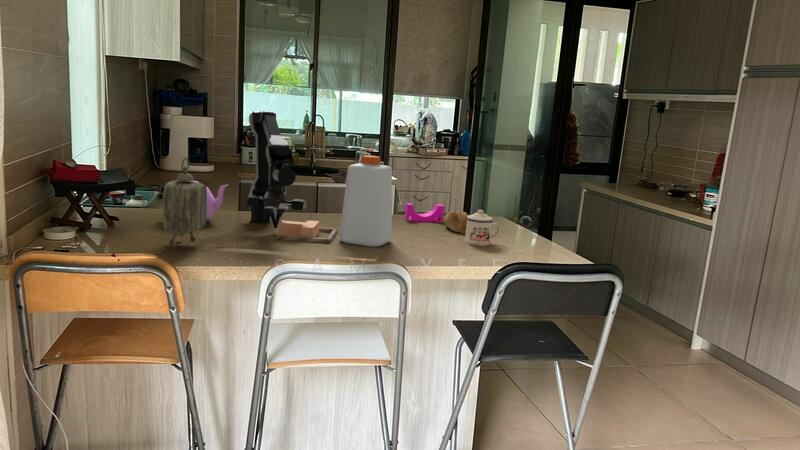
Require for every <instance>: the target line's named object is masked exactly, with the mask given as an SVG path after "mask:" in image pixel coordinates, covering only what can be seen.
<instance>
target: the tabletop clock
mask: <svg viewBox="0 0 800 450" xmlns="http://www.w3.org/2000/svg"><path fill="white" fill-rule="evenodd" d="M185 161H186V163H187V165H186V166H184V164H185ZM189 168H190V159H189V158H188V157H184V158H183V159H182V160H181V171H182V173H179V174H177V176H176V178H175V180H170V181H169V182H167V183H166V184H165V185H164V187H163V202H162V214H163V215H162V216H163V217H162V219H163V220H162V221H163V222H162V223H163V230H164V231H165V232H174V233H173V236H172V238H170V239H168V244H169V246H172V245H174V244H175V239H176V237H179V238H183V237H184V236H185V233H189V235H190V238H189V241H190V242H191V243H194V242H196V237H195V236H194V235H193V234H194V232H197V231H199V230H200V229H203V227H204V226H205V225H206V224H207V220H206V213H207V188H206V187H207V186H206V185H205V184H203V183H202V182H199V181H198V182H191V181H195V178H194V176H193V175H192V174H191V173H188V171H189Z"/></svg>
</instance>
